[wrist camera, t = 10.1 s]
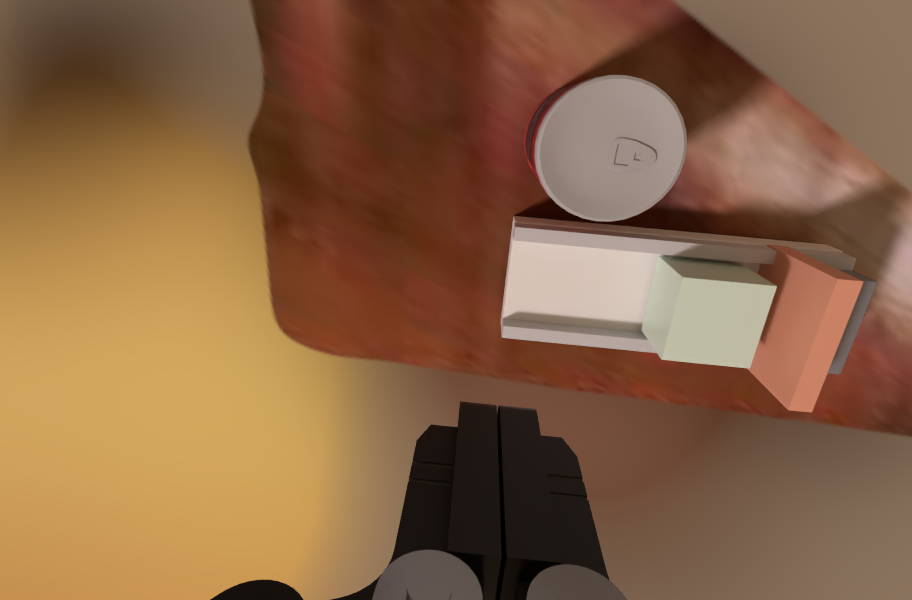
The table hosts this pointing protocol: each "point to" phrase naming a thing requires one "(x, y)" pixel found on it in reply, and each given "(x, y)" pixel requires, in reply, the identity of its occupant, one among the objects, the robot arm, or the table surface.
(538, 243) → the channel rail
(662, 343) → the pale sage green cube
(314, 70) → the table surface
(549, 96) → the canned food
